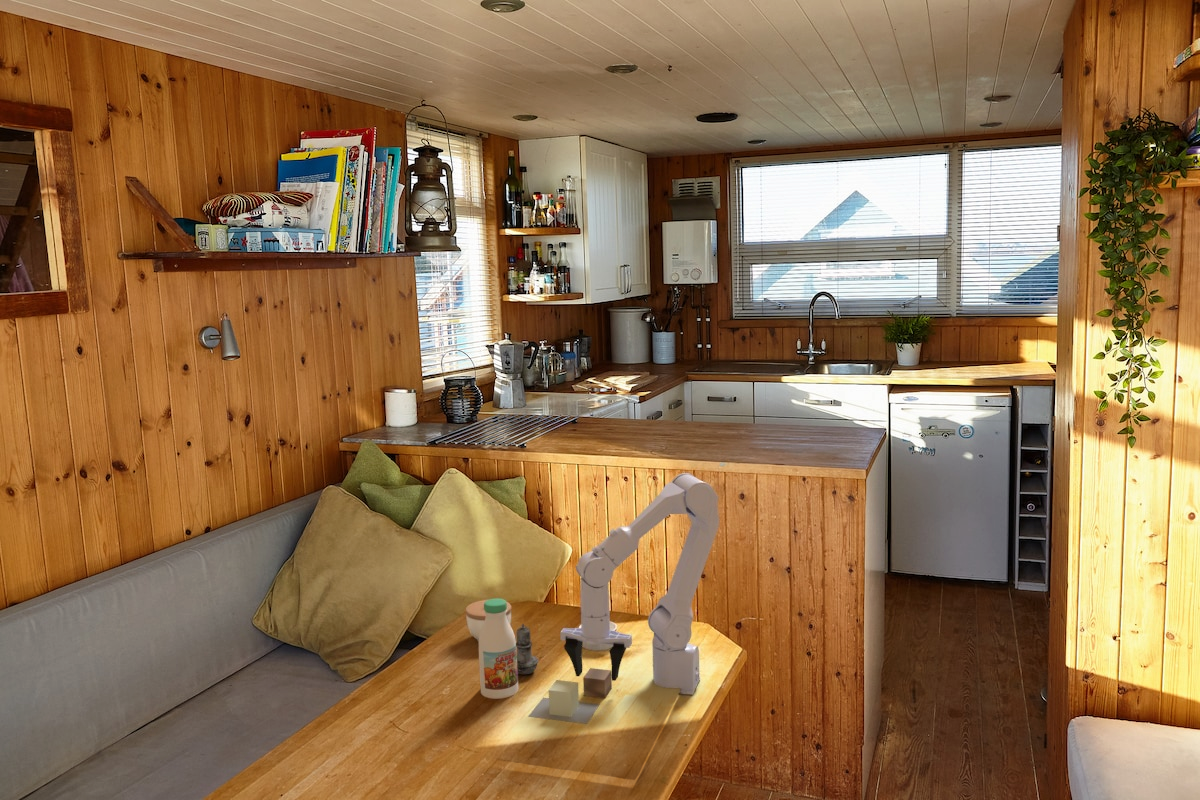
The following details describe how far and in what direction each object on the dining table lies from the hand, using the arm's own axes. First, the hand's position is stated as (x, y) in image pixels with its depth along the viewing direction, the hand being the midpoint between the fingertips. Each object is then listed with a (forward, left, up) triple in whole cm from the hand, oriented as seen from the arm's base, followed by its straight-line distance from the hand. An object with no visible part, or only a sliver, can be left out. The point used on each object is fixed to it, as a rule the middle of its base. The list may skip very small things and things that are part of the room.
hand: (596, 676), depth 190 cm
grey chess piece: (+18, -5, -5) cm, 19 cm away
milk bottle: (+20, +4, -5) cm, 21 cm away
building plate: (+4, +9, -4) cm, 11 cm away
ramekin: (+8, -25, -5) cm, 27 cm away
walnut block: (0, 0, -5) cm, 5 cm away
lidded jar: (+34, -22, -5) cm, 41 cm away
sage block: (+4, +9, -3) cm, 10 cm away
